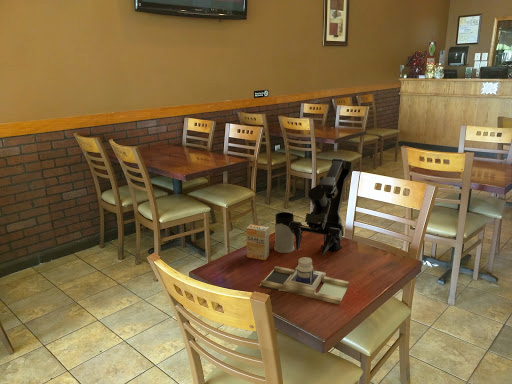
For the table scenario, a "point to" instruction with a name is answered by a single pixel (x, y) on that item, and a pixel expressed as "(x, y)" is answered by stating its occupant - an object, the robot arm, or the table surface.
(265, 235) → the supplement box
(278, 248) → the glass holder
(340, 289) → the pad
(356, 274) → the table surface
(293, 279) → the collar carriage
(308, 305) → the table surface
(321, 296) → the oak channel
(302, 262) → the pill bottle
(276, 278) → the tray
